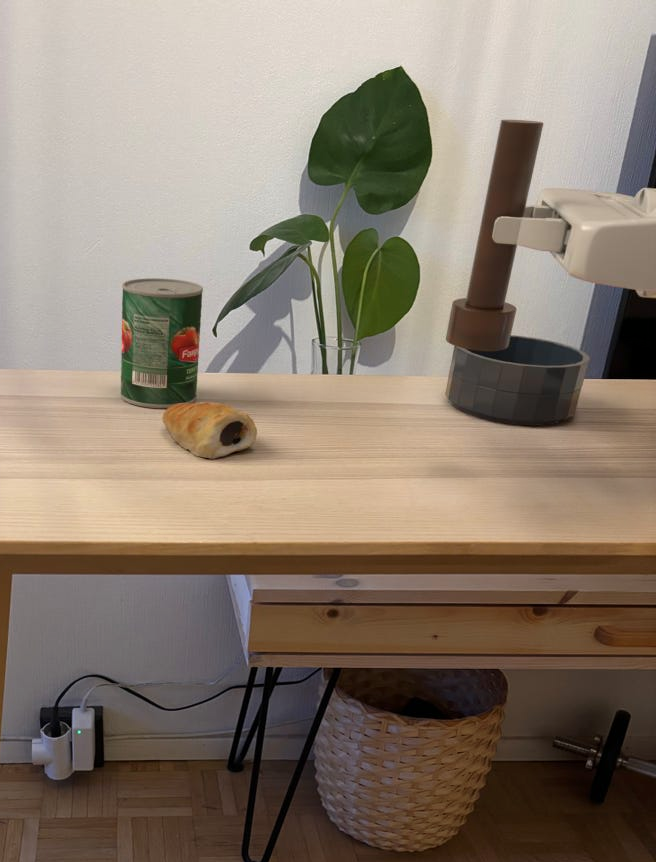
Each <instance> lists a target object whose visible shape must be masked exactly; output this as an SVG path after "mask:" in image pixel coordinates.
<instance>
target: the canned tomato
mask: <svg viewBox="0 0 656 862" xmlns="http://www.w3.org/2000/svg"><path fill="white" fill-rule="evenodd" d="M121 288H122V297H121V298H122V301H121V307H122V308H121V351H120V352H121V353H120V354H121V358H120V359H121V360H120V363H121V364H120V392H119V396H120V398H121V399H122V401H124V402H126V403H129V404H130V405H134V406H138V407H143V408H151V409H168V408H169V407H171V406H172V405H175V404H177V403H196V401H197V398H198V396H197V387H198V373H199V372H198V371H199V359H200V357H199V356H200V355H199V354H200V353H199V352H200V341H201V339H200V336H201V326H202V325H201V324H202V323H201V319H202V308H203V307H202V306H203V305H202V303H203V291H204V287H203V286H202V285H200V284H199V283H196V282H192V281H187V280H182V279H173V278H156V277H153V278H152V277H149V278H136V279H135V278H134V279H130V280H126V281H124V282H123V283H122V284H121Z"/></svg>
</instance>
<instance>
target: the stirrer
mask: <svg viewBox="0 0 656 862" xmlns="http://www.w3.org/2000/svg"><path fill="white" fill-rule="evenodd" d="M543 128H544V122H543V121H536V120H526V119H501V120H500V123H499V129H498V134H497V138H496V145H495V150H494V155H493V160H492V165H491V171H490V175H489V180H488V185H487V191H486V195H485V201H484V204H483V205H484V206H483V211H482V217H481V221H480V226H479V231H478V236H477V241H476V248H475V252H474V257H473V263H472V267H471V272H470V278H469V281H468V289H467V292H466V297H463V298H462V297H461V298H458V299H457V298H456V299H454V300H453V301H452V303H451V308H450V313H449V319H448V323H447V324H448V325H447V329H446V335H445V341H446V342H447V343H449V344H450V345H451V346H453V347H454V346H457V347H461V348H465V349H470V350H478V351H498V350H503V349H506V348H507V347H508V345H509V341H510V336H511V335H512V331H513V327H514V323H515V318H516V314H517V307H516V306H515V305H513V304H511V303H509V302H506V299H507V294H508V289H509V285H510V281H511V276H512V271H513V267H514V262H515V257H516V253H517V249H518V245H514V244H501V243H496V242H494V240H493V239H492V237H491V231H492V226H493V221H494V218H495V217H496V216H498V215H511V216H519V217H520V218H521V217H523V216H524V211H525V207H526V206H527V202H528V198H529V193H530V188H531V185H532V180H533V179H532V178H533V174H534V169H535V165H536V160H537V155H538V152H539V151H538V150H539V148H540V147H539V146H540V142H541V138H542V132H543Z"/></svg>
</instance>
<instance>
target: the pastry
mask: <svg viewBox="0 0 656 862" xmlns="http://www.w3.org/2000/svg"><path fill="white" fill-rule="evenodd" d="M161 418H162V419H161V420H162V423H163V424H164V426H165V428H166V429H167V431H168V433H169V434H170V436H171V438H172V439H173V441H174V443H176V444H178V445H179V446H180V447H181V448H183V449H184V450H188V451H190V453H191V454H193V455H194V456H197V457H201V458H207V459H211V460H214V459H217V458H223V457H226V456H229V455H231V454H232V453H234V452H240V451H243V450H245V449H248V448H250V447H251V446H252V445H253V444H254V443H255V442H256V440H257V437H258V428H257V427H256V424H255V421H254V419H253V418H252V417H250V415H249V414H248V413H247V412H240V411H239V410H237V409H234V408H233V407H232V406H230V405H229V404H223V403H220V402H210V401H204V402H194V403H177V404H175V405H172V406H171V407H169V408H166V409H165V411H164V412H163V414H162V417H161Z"/></svg>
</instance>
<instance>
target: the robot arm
mask: <svg viewBox="0 0 656 862" xmlns="http://www.w3.org/2000/svg"><path fill="white" fill-rule="evenodd" d="M491 237H492V239H493V240H494V242H496V243H501V244H514V245H517V246H520V247H524V248H527V249H532V250H535V251H540V252H549V254H551V256H553V258H554V260H556V262H558V263H559V265H560V266H561V267H562V268H563V269H564V271H566V273H567V274H568V275H569V276H570V277H572V278H575V279H577V280H580V281H584V282H588V283H592V284H596V285H603V286H609V287H615V288H620V289H621V288H622V289H627V290H635V293H636V294H637V295H638V297H641V298H649V299H656V188H654V187H653V188H651V187H643V188H641V189H640V190H639V191H637V193H636V194H635V196H632V195H627V194H622V193H617V192H609V191H597V190H589V189H588V190H587V189H574V188H573V189H572V188H564V187H547V188H542V189H541V190H539V192H538V194H537V198H536V202H535V204H529V205H526V207H525V211H524V216H523V217H521V218H520V217H519V216H511V215H498V216H496V217H495V218H494V221H493V226H492V231H491Z"/></svg>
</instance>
